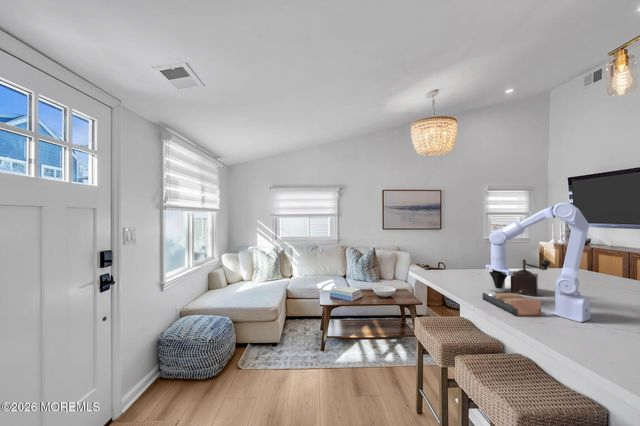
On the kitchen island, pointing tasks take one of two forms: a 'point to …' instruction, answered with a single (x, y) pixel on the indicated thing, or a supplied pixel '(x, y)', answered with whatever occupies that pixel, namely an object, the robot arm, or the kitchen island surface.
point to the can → (491, 283)
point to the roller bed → (516, 305)
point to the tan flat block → (509, 297)
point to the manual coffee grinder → (527, 279)
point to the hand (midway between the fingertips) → (498, 288)
